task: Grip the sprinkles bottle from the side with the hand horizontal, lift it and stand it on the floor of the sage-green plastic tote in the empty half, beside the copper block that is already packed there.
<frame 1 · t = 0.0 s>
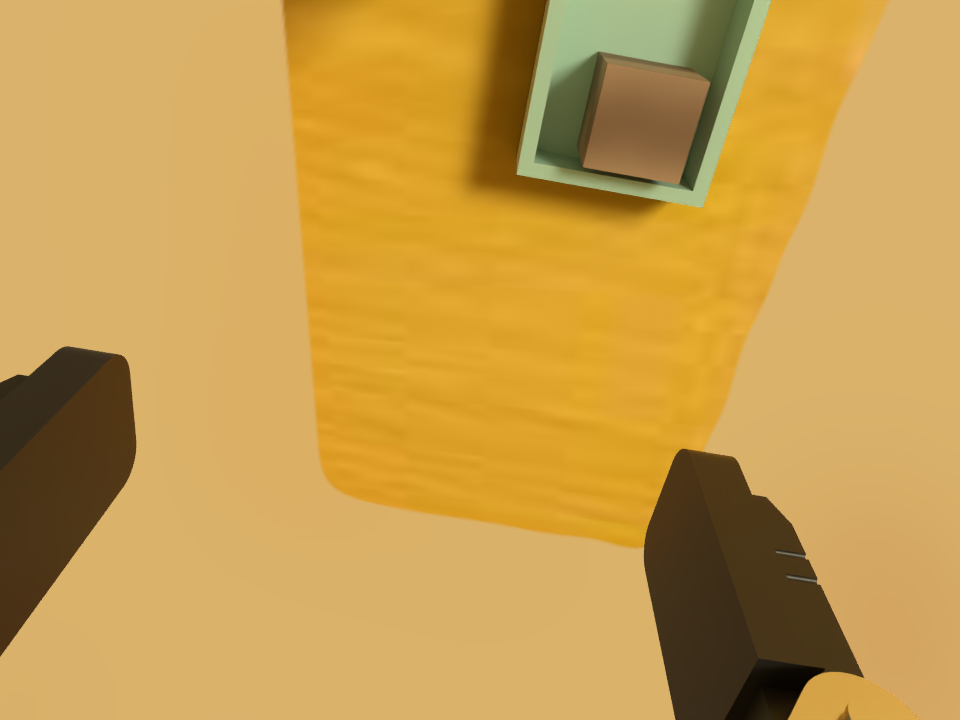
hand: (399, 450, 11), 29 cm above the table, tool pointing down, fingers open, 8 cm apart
tote: (641, 21, 34), on the table
copper block: (632, 108, 35), point 1 cm above the table, touching tote
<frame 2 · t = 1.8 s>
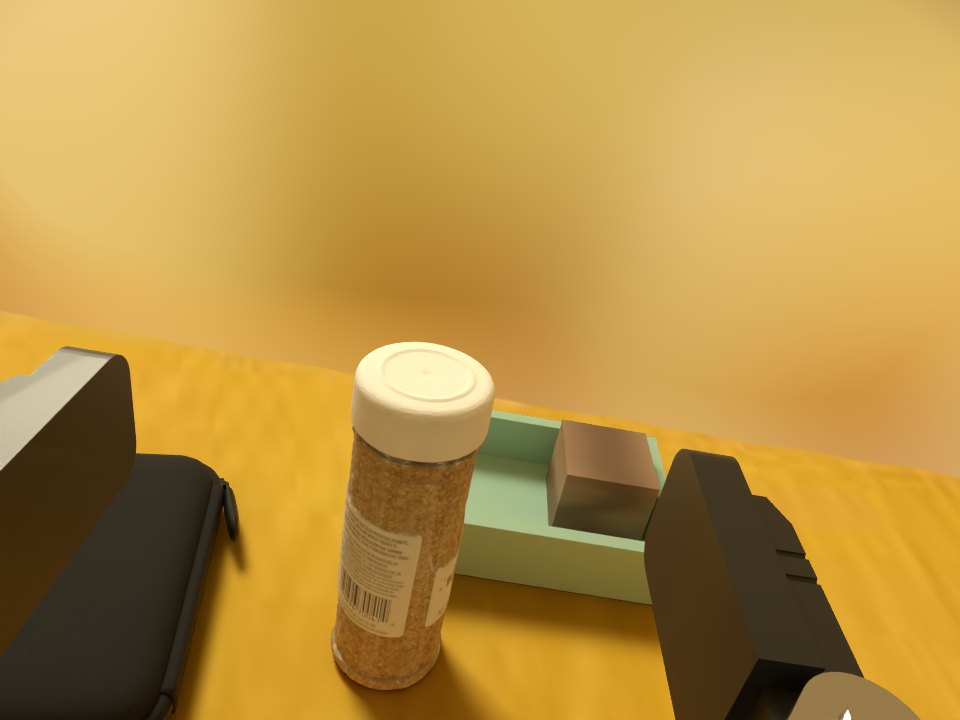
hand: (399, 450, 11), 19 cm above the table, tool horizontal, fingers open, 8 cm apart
sprinkles bottle: (383, 647, 30), on the table
carrying case or bag: (93, 610, 30), on the table
tote: (516, 515, 38), on the table
copper block: (589, 512, 38), point 1 cm above the table, touching tote
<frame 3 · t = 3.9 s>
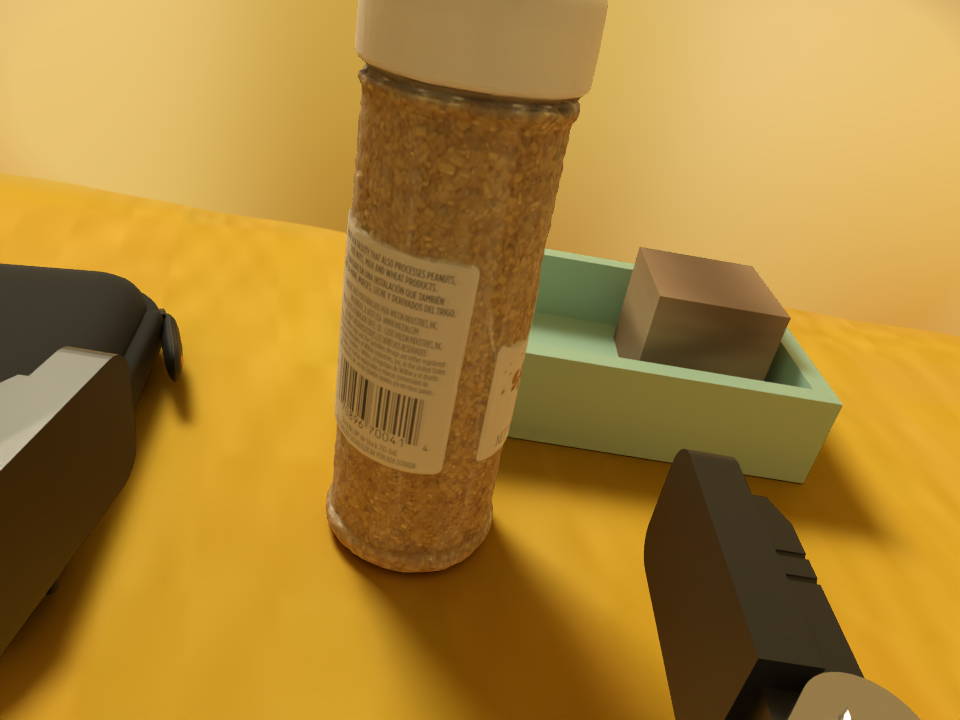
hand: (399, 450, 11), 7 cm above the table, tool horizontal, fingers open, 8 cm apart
sprinkles bottle: (405, 521, 20), on the table
tote: (578, 377, 28), on the table
copper block: (676, 373, 28), point 1 cm above the table, touching tote
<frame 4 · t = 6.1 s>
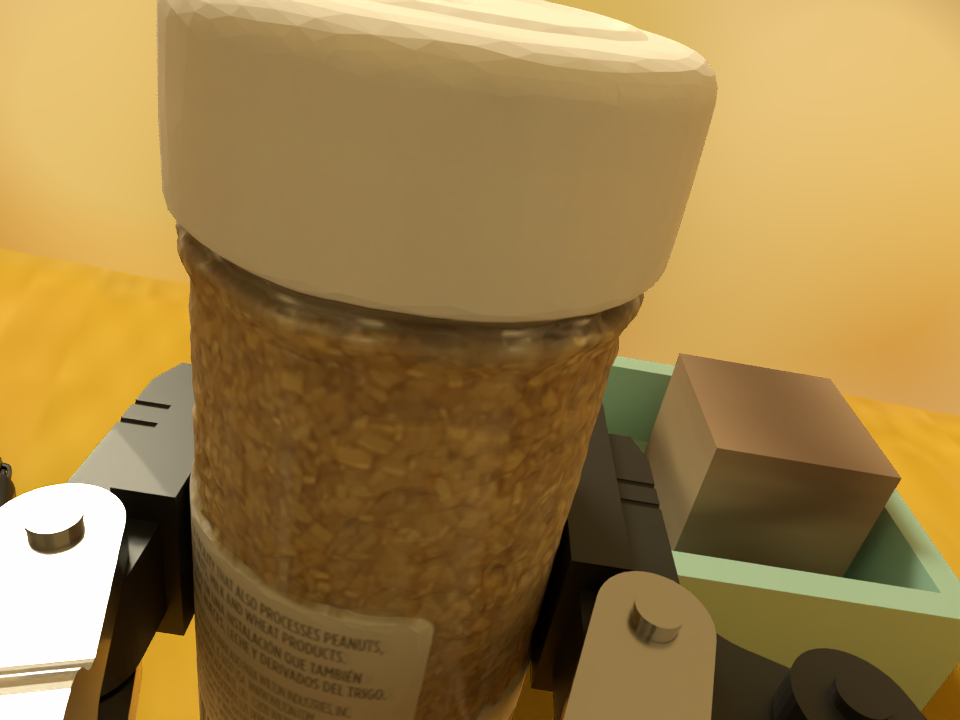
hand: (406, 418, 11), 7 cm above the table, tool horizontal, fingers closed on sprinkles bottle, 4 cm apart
tote: (596, 529, 21), on the table
copper block: (728, 522, 21), point 1 cm above the table, touching tote
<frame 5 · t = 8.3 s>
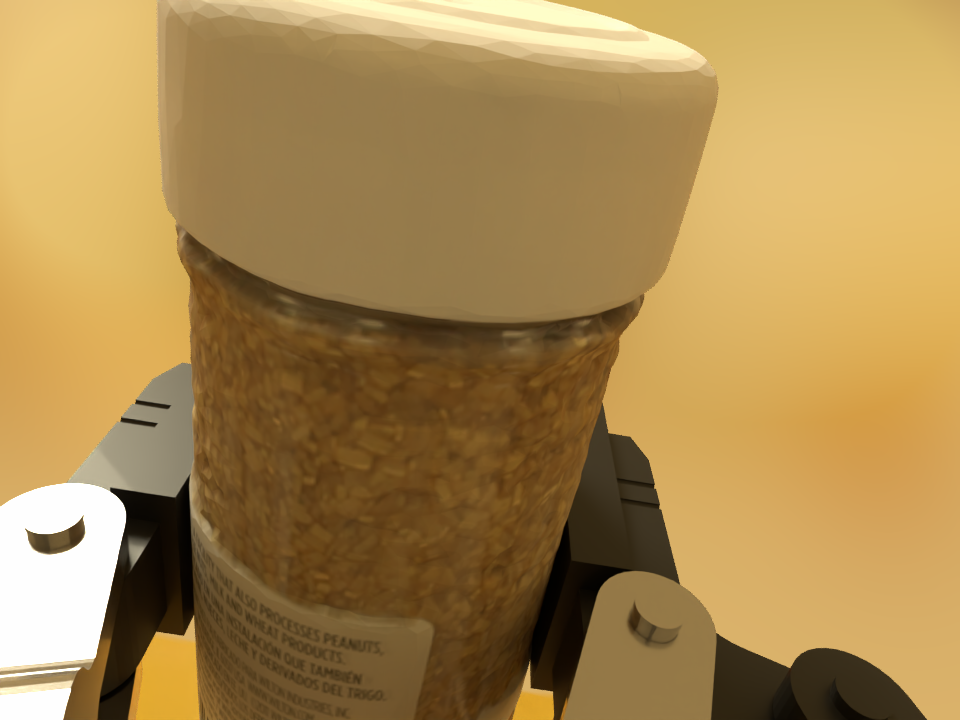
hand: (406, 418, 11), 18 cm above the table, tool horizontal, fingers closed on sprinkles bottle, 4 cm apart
when the fingers open (9 cm above the table, at t = 10.5 s): sprinkles bottle drops 1 cm, resting on tote.
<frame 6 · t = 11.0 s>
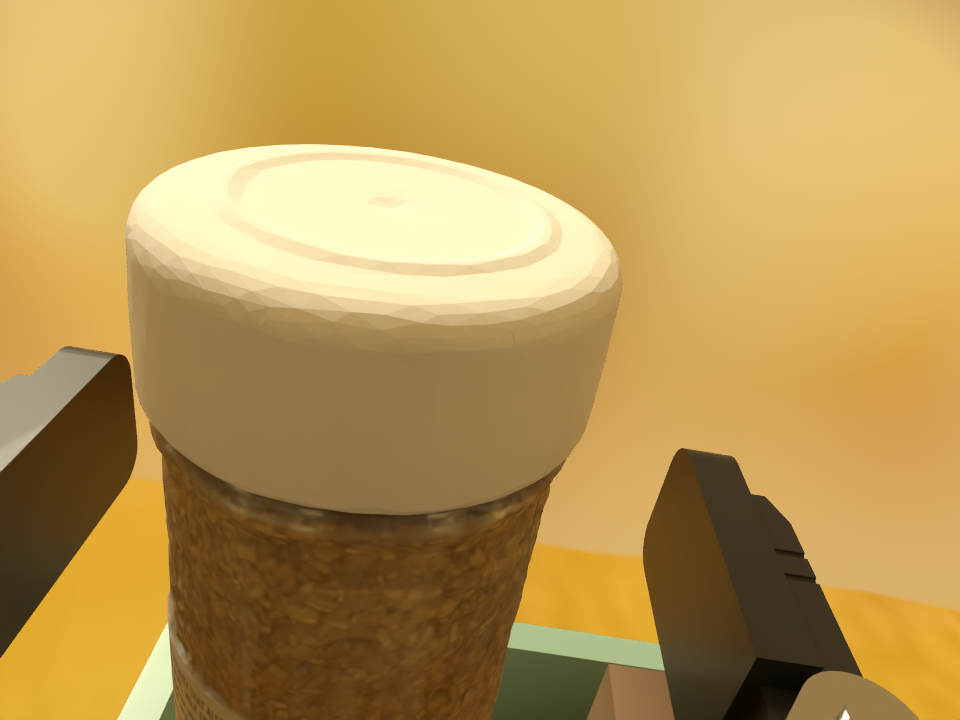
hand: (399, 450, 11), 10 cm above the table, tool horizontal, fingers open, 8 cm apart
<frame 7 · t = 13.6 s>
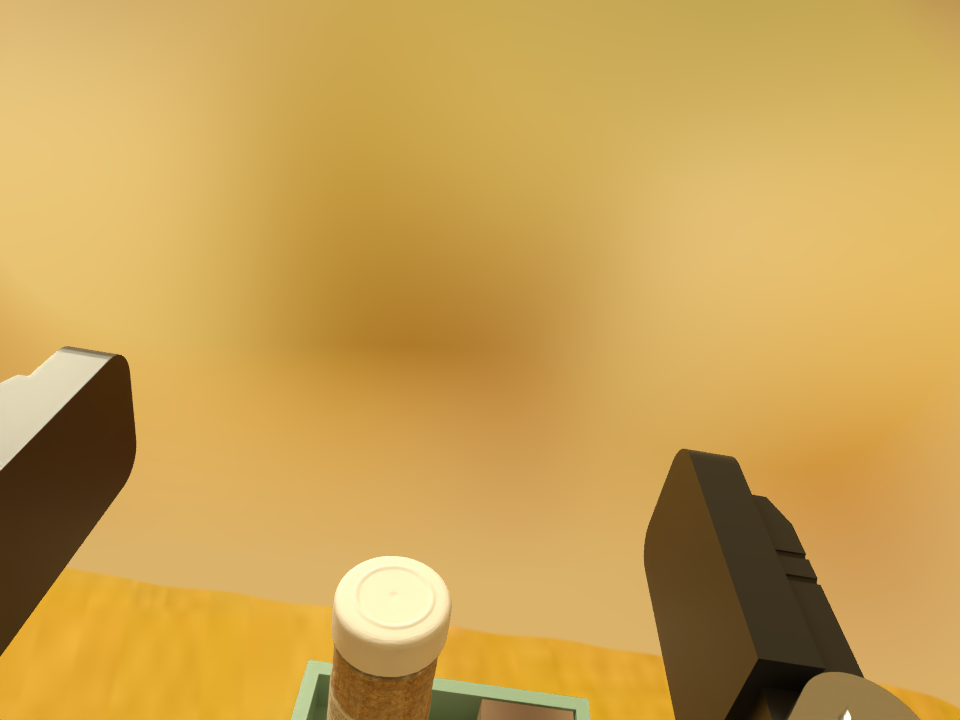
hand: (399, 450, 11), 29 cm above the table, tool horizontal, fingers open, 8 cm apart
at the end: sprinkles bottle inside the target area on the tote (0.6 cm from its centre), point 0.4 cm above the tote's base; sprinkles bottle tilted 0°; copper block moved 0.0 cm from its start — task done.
